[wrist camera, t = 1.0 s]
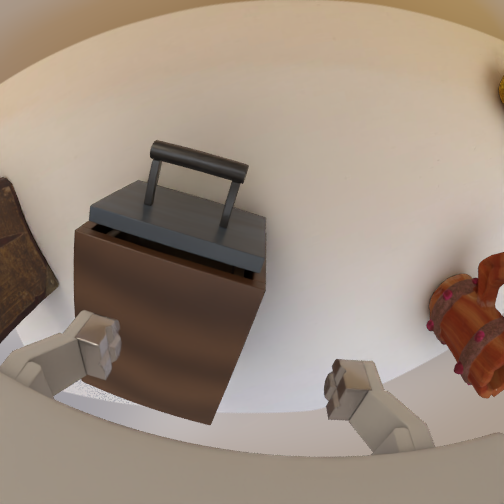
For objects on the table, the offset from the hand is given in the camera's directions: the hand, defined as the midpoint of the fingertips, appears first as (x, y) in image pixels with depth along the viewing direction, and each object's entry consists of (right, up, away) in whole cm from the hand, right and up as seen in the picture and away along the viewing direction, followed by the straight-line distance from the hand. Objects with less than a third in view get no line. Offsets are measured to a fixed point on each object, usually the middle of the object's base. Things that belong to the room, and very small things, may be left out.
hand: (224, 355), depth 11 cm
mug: (+26, 0, +20) cm, 33 cm away
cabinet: (-7, 0, +22) cm, 23 cm away
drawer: (-5, +4, +19) cm, 20 cm away
